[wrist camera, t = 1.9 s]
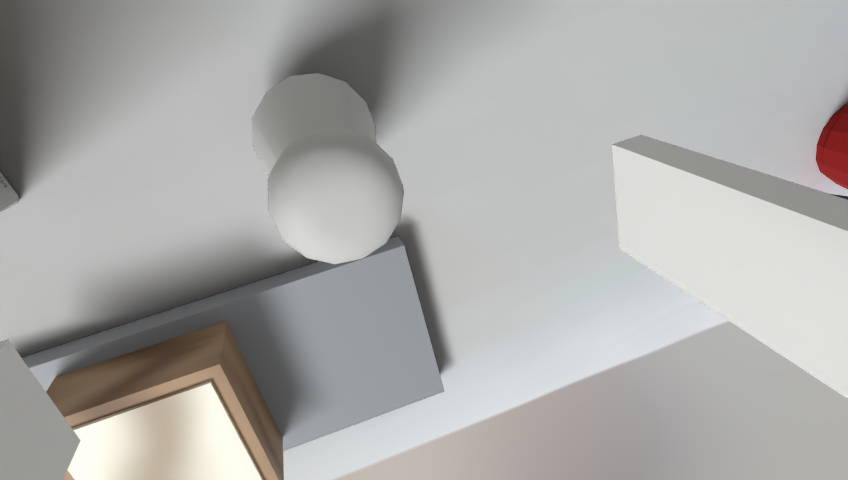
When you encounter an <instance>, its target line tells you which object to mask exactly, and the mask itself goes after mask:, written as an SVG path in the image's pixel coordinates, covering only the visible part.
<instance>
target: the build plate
mask: <svg viewBox="0 0 848 480" xmlns="http://www.w3.org/2000/svg"><path fill="white" fill-rule="evenodd" d="M224 321H227V323H228V325H229V327H230V329H231V331H232V333H233V335H234V337H235V339H236V342H237V344H238V346H239V348H240V350H241V352H242V354H243V356H244V358H245V360H246V362H247V364H248V367H249V369H250V371H251V373H252V375H253V377H254V379H255V381H256V383H257V385H258V387H259V389H260V392H261V394H262V396H263V398H264V400H265V402H266V404H267V406H268V408H269V410H270V412H271V414H272V417H273V419H274V421H275V423H276V425H277V427H278V429H279V431H280V433H281V435H282V437H283V451H285V450H288V449H290V448H293V447H296V446H299V445H301V444H304V443H307V442H309V441H312V440H315V439H317V438H320V437H323V436H325V435H328V434H331V433H334V432H336V431H339V430H342V429H344V428H347V427H350V426H352V425H355V424H358V423H360V422H363V421H366V420H369V419H371V418H374V417H377V416H379V415H382V414H385V413H387V412H390V411H393V410H395V409H398V408H401V407H404V406H406V405H409V404H412V403H414V402H417V401H420V400H422V399H425V398H428V397H430V396H433V395H436V394H439V393H441V392H444V388H443V384H442V381H441V377H440V373H439V370H438V366H437V362H436V359H435V355H434V352H433V348H432V344H431V341H430V337H429V333H428V330H427V326H426V323H425V319H424V315H423V312H422V308H421V304H420V301H419V297H418V294H417V290H416V286H415V283H414V279H413V275H412V272H411V268H410V264H409V261H408V257H407V254H406V250H405V246H404V244H403V242H402V241H401V239H400V237H399V235H398V236H395V237H392V238H389V239H388V241H387V243H386V244H384V245H382V246H381V247H379V248H378V249H376V250H375V251H373V252H372V253H370V254H369V255H367V256H366V257H364V258H363V259H358V260H354V261H349V262H344V263H339V264H331V263H327V262H322V261H318V262H315V263H312V264H309V265H306V266H303V267H300V268H297V269H293V270H290V271H287V272H284V273H281V274H278V275H275V276H272V277H269V278H266V279H263V280H260V281H256V282H253V283H250V284H247V285H244V286H241V287H238V288H235V289H232V290H229V291H226V292H223V293H219V294H216V295H213V296H210V297H207V298H204V299H201V300H198V301H195V302H192V303H189V304H186V305H182V306H179V307H176V308H173V309H170V310H167V311H164V312H161V313H158V314H155V315H152V316H149V317H145V318H142V319H139V320H136V321H133V322H130V323H127V324H124V325H121V326H118V327H115V328H111V329H108V330H105V331H102V332H99V333H96V334H93V335H90V336H87V337H84V338H81V339H78V340H74V341H71V342H68V343H65V344H62V345H59V346H56V347H53V348H50V349H47V350H44V351H41V352H37V353H34V354H31V355H28V356H25V357H22V359H23V361H24V362H25V364H26V365H27V366H28V368H29V369H30V371H31V372H32V373H33V375H34V376H35V378H36V379H37V380H38V382H39V383H40V384H41V386H42V387H43V389H44V390H45V391H47V390H48V388H49V386H50V385H51V383H52V381H53V380H54V378H55V377H58V376H61V375H64V374H67V373H70V372H73V371H76V370H79V369H82V368H85V367H88V366H91V365H94V364H97V363H100V362H103V361H106V360H109V359H112V358H115V357H118V356H121V355H124V354H127V353H130V352H133V351H136V350H139V349H142V348H145V347H148V346H152V345H155V344H158V343H161V342H164V341H167V340H170V339H173V338H176V337H179V336H182V335H185V334H188V333H191V332H194V331H197V330H200V329H203V328H206V327H209V326H212V325H215V324H218V323H221V322H224Z"/></svg>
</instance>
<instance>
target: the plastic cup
mask: <svg viewBox="0 0 848 480" xmlns="http://www.w3.org/2000/svg"><path fill="white" fill-rule="evenodd" d="M816 161H817V164H818V167H819V170H820V172H821V173H823V174H824V175H825V176H827V177H828V178H830V179H831V180H832V181H833V182H835V183H836V184H838V185H840V186H842V187H844V188H846V189H848V104H847V105H845V106H844V107H843V108H842V109H841V110H839V111H838V112H837V113H836V114H834V116H833V117H832V118H831V120H830V121H829V123H828V124H827V125H826V127H825V128H824V130H823V132H822V135H821V137H820V140H819V142H818V145H817V156H816Z"/></svg>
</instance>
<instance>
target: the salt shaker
mask: <svg viewBox="0 0 848 480" xmlns="http://www.w3.org/2000/svg"><path fill="white" fill-rule="evenodd" d="M252 136H253V148H254V150H255V152H256V154H257V156H258V158H259V160H260V163H261V165H262V167H263V169H264V171H265V172H266V174H267V175H268V176H269V177H268V211H269V213H270V215H271V217H272V219H273V221H274V223H275V225H276V227H277V229H278V231H279V233H280V235H281V237H282V239H283V241H284V242H286V243H287V244H288V245H290V246H291V247H292V248H294V249H295V250H297V251H298V252H299V253H301V254H302V255H303V256H305V257H306V258H309V259H313V260H318V261H322V262H327V263H331V264H339V263H344V262H349V261H354V260H358V259H363V258H364V257H366V256H367V255H369V254H370V253H372V252H373V251H375V250H376V249H378V248H379V247H381V246H382V245H384V244H386V243H387V241H388V239H389V238H390V236H391V234H392V233H393V231H394V229H395V228H396V226H397V224H398V223H399V221H400V219H401V212H402V204H403V196H404V190H403V185H402V182H401V179H400V177H399V174H398V171H397V169H396V166H395V164H394V161H393V159H392V158H391V157H390V156H389V155H388V154H387V153H386V152H385V151H384V150H383V149H382V148H381V147H380V146H379V145H378V144H377V143H376V127H375V124H374V122H373V119H372V116H371V114H370V111H369V109H368V106H367V103H366V101H365V100H364V99H363V98H362V97H361V96H360V95H359V94H358V93H357V92H356V91H355V90H354V89H353V88H352V87H351V86H350V85H349V84H348V83H347V82H345V81H342V80H339V79H336V78H333V77H330V76H327V75H324V74H320V73H313V74H303V75H293V76H289V77H287V78H286V79H284V80H283V81H282V82H280V83H279V84H277V85H276V86H275V87H273V88H272V89H271V90H269V91H268V92H266V94H265V96H264V97H263V99H262V101H261V103H260V104H259V106H258V108H257V110H256V112H255V113H254V115H253V117H252Z"/></svg>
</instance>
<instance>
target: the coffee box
mask: <svg viewBox="0 0 848 480" xmlns="http://www.w3.org/2000/svg"><path fill="white" fill-rule="evenodd" d="M18 201H19V196H18V195H17V193H16V192H15V191H14V189H13V188H12V187H11V185H10V184H9V183H8V181H7V180H6V179H5V177H4V176H3V175H2V173H1V172H0V212H1V211H3V210H5V209H7V208H9V207H11V206H12V205H14V204H16V203H18Z"/></svg>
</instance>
